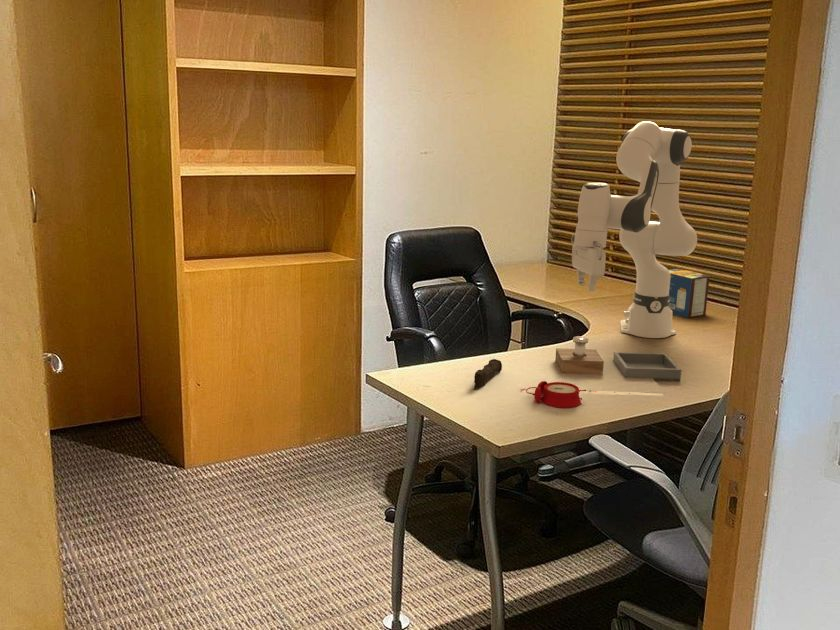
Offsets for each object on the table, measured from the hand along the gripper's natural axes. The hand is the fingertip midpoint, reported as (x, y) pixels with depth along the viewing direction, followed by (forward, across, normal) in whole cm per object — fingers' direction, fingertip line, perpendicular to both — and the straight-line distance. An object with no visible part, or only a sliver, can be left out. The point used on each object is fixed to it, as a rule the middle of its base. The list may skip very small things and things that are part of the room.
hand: (585, 287), depth 237 cm
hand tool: (+27, -6, +28) cm, 39 cm away
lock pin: (+24, +3, -1) cm, 25 cm away
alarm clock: (+28, -22, +13) cm, 38 cm away
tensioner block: (+25, +3, -1) cm, 25 cm away
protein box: (+19, +73, -63) cm, 98 cm away
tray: (+24, +1, -21) cm, 32 cm away
